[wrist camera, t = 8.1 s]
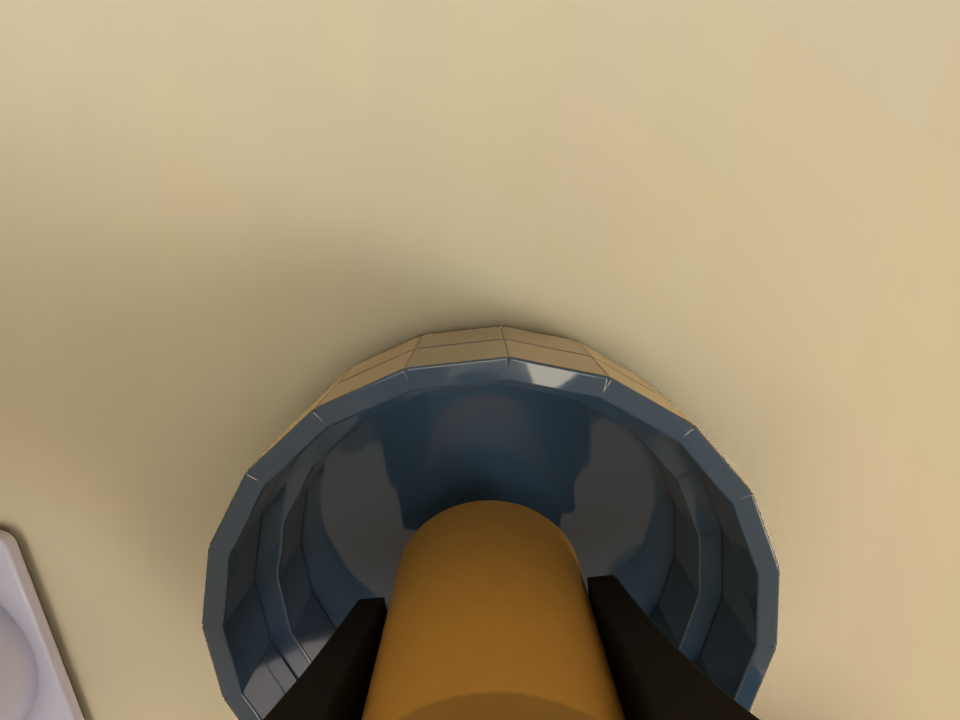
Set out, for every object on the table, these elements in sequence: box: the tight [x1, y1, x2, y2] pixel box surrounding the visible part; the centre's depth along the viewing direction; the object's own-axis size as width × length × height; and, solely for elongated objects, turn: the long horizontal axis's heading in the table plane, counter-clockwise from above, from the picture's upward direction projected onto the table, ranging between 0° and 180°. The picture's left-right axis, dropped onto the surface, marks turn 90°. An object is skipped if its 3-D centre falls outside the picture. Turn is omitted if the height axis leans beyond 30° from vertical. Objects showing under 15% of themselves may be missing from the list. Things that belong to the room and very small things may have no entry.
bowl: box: [202, 326, 780, 720], centre depth 14 cm, size 13×13×4 cm
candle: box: [361, 500, 625, 720], centre depth 10 cm, size 5×5×6 cm
